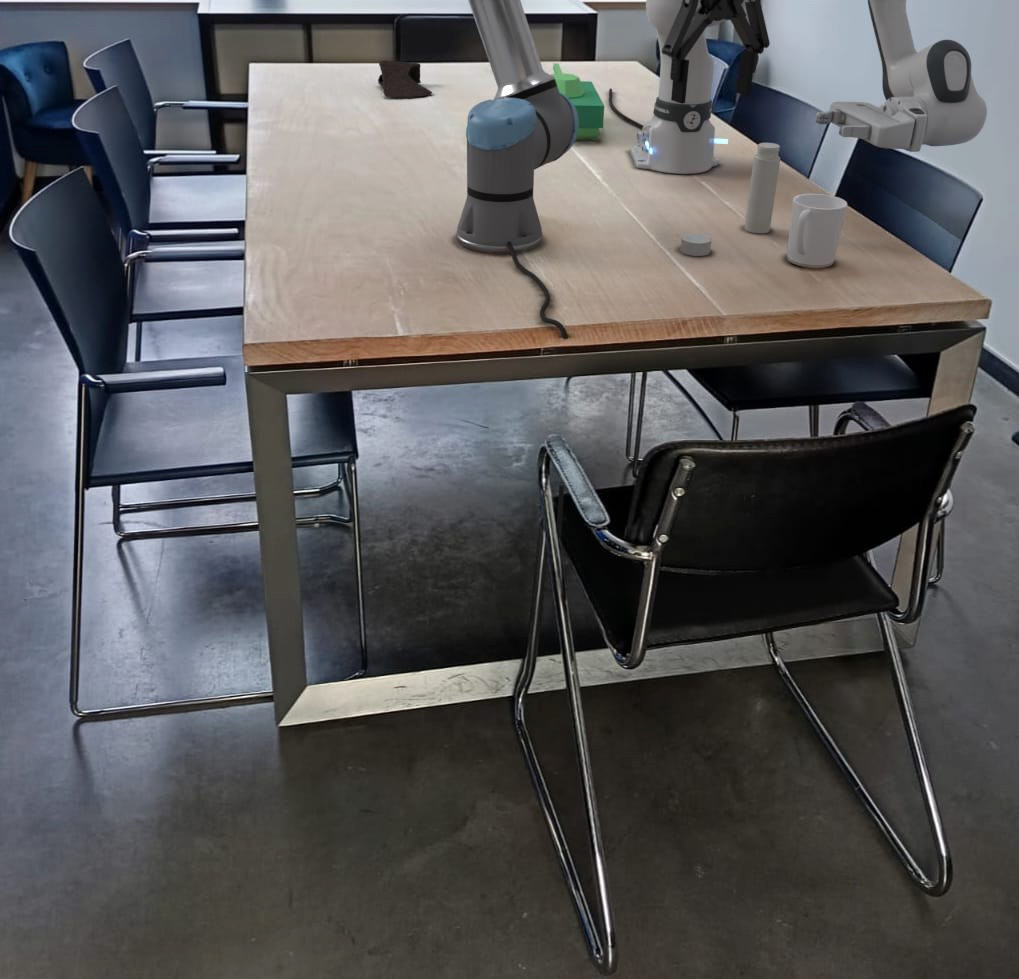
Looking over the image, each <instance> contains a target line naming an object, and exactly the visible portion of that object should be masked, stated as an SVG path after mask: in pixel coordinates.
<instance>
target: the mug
mask: <svg viewBox="0 0 1019 979" xmlns="http://www.w3.org/2000/svg"><path fill="white" fill-rule="evenodd" d="M847 208H848V202H847V201H846V200H845V199H843V198H841V197H838V196H834V195H829V194H823V193H803V194H798V195H796V196H794V197H793V199H792V206H791V215H790V224H789V231H788V233H789V234H788V242H787V251H786V258H787V261H788V262H790V263H791V264H793V265H796V266H799V267H803V268H810V269H823V268H828V267H830V266H832V265H833V264H834V263H835V259H836V254H837V250H838V246H839V243H840V238H841V233H842V228H843V225H844V221H845V215H846V212H847Z"/></svg>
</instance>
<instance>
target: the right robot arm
mask: <svg viewBox="0 0 1019 979" xmlns="http://www.w3.org/2000/svg"><path fill="white" fill-rule="evenodd" d="M681 5H682V0H645V13H646V17H647V19H648V21H649V23H650V24H651V25H652V27H653V28H654V30H655V33H656V36H657V41H658V47H659V54H660V55H659V56H660V69H659V70H660V71H659V82H658V83H659V85H658V96H657V97H656V99H655V103H654V104H653V107H654V108H653V111H652V113H653V115H652V116H651V117H650V118H649V119H648V121H647V122H646V123H644V125H643V124H641V123H639V122H637V121H635V120H634V119H631V118H630V117H628V116H627V115H625V114H623V113H622V112H621V111H619V110H618V109H617V107H616V106H615V105H614V104H613V89H612V88H611V87H610V88H609V89H608V104H609V106H610V108H611V110H612V111H613V112H614V113H615V114H616V115H617V116H619V117H620V118H622V120H625V121H626V122H628V123H630V124H632V125H634V126H636V127H637V128H639V129H641V131H640V130H639V131H637V132H636V142H637V143H640V144H637V145H633V146H630V147H629V153H630V155H631V158H632V161H633V163H634V165H635V167H636V168H638V169H645V170H652V171H655V172H660V173H666V174H674V175H675V174H676V175H691V174H699V173H705V172H708V171H709V170H710V169H712V167H717V166H719V159H718V158H716V157H715V156H714V155H715V144H722V145H723V144H724V145H728V143H729V139H727V138H715V136H716V127H715V125H714V124H713V123H711V120H710V119H711V117H712V112H713V100H712V99H711V97H712V88H713V80H714V79H713V78H714V71H715V61H714V59H713V56H712V55H711V54H710V52H709V49H708V45H707V36H706V31H707V28H710V27H715V26H717V25H719V24H722V23H723V22H725V21H726V20H725V19H723V20H720V21H714V20H713V22H712V23H711V24H709V25H708V26H707V27H706V29H705V30H704V31H703V33H702V34H701V36H700V37H699V39H698V40H697V42H696V43H695V44H694V46H693V47H692V49H691V50H690V52H689V53H688V55H687V56H686V57H685V59H686V60H689V69H688V79H687V89H686V99H685V103H678V102H675V101H672V100H671V96H672V85H673V80H671V78H670V73H671V62H672V59H671V57H669V56H667V55H665V54H663V53H662V48H663V45H664V43H665V41H666V39H667V37H668V34H669V32H670V30H671V28H672V25H673V23H674V21H675V19H676V17H677V14H678V12H679V10H680V8H681ZM867 5H868V10H869V11H868V12H869V15H870V20H871V23H872V24H871V25H872V27H873V32H874V37H875V41H876V44H877V49H878V52H879V57H880V61H881V68H882V80H881V81H882V82H881V83H882V92H883V96H884V98H885V101H884V103H883V104H881V105H880V106H876V105H874V104H872V103H869V102H866V101H865V102H863V101H834V102H832V103H831V104H830V106H829V110H826V111H825V112H822V111H821V112H816V114H815V119H814V121H815V123H816V124H819V125H828V124H833V125H835V126H837V127H839V130H838V135H839V136H841V137H843V138H855V139H859V140H864V141H865V142H867V143H869V144H870V145H873V146H874V147H878V148H881V149H888V150H905V151H906V152H910V153H919V152H921V149H922V145H925V146H929V147H948V146H955V145H961V144H965V143H968V142H970V141H972V140H974V139H975V138H976V137H977V136H979V133H981V131H982V130H983V128H984V125H985V122H986V119H987V115H988V108H987V104H986V103H987V102H986V101H985V99H984V98H982V96H981V95H980V93H978V91H977V89H976V86H975V83H974V79H973V76H972V59H971V56H970V54H969V52H968V50H967V49H966V48H965V47H964V45H962V44H961V43H959V42H957V41H956V40H953V39H941V40H939V41H936V42H935V43H933V44H931V45H928V46H927V47H925V48H923V49H921V50H920V51H917V50H916V48H915V44H914V40H913V35H912V30H911V26H910V21H909V18H908V13H907V0H867ZM700 6H701V4H700V5H698V6H697V10H698V8H699V7H700ZM697 10H696V11H697ZM695 13H696V12H695ZM704 15H705V14H704ZM693 19H694V17H693ZM693 19H692V20H693ZM691 22H692V21H691Z"/></svg>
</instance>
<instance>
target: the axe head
mask: <svg viewBox="0 0 1019 979" xmlns="http://www.w3.org/2000/svg"><path fill="white" fill-rule="evenodd" d="M378 66H379V68H380V72H381V74H379V75H378V79H377V84H378V85H379V86H380V87H381V88H382V89H383V95H384V96H385V97H388V98H394V99H395V98H396V99H403V98H405V99H406V98H407V99H411V98H418V97H425V96H429V95H432V94H433V91H431V90H430V89H428V88H427V87H425V86H422V85H421V84H422V82H421V63H419V62H410V61H408V62H407V61H397V60H388V59H387V60H380V61H379V62H378Z"/></svg>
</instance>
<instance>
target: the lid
mask: <svg viewBox="0 0 1019 979" xmlns="http://www.w3.org/2000/svg"><path fill="white" fill-rule="evenodd" d="M711 248H712V238H711V237H710V236H709V235H705V234H701V233H687V234H686V233H685V234H684V235H682V236H681V241H680V248H679V249H680V252H681V253H682V254H683V255H685V256H686V255H687V256H691V257H704V256H708V255H709V254H710V253H711Z"/></svg>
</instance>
